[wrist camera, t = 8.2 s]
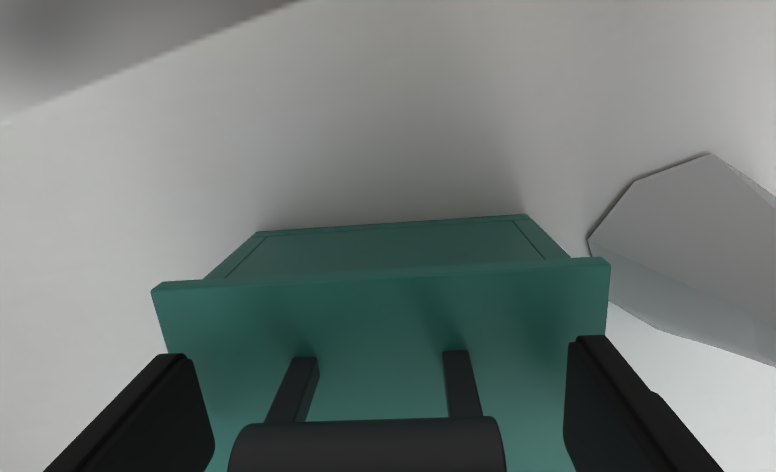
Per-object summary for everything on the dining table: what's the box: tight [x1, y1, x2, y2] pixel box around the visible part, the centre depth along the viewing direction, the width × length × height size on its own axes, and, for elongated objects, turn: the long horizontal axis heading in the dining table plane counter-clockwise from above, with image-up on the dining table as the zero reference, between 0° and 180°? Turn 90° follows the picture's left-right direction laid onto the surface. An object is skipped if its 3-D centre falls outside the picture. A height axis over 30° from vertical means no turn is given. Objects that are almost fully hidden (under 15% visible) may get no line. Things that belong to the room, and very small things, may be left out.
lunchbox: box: [203, 214, 571, 279], centre depth 17 cm, size 16×12×7 cm
